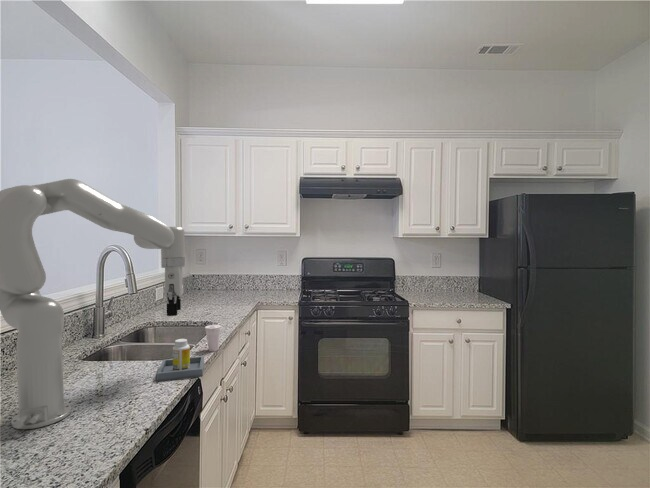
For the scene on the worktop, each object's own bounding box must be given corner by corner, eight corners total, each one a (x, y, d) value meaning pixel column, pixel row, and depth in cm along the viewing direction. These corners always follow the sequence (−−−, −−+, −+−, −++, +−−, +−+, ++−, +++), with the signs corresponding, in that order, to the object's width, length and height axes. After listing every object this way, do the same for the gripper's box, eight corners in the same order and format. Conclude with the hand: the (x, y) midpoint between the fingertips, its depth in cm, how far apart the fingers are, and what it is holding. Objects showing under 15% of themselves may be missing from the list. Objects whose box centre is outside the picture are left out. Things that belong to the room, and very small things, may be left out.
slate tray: (202, 376, 128) (202, 369, 128) (157, 381, 124) (156, 373, 124) (204, 362, 141) (204, 356, 141) (163, 366, 138) (163, 359, 138)
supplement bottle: (191, 366, 136) (191, 337, 135) (188, 372, 130) (188, 341, 130) (174, 367, 135) (174, 338, 135) (171, 373, 129) (170, 342, 129)
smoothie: (209, 353, 152) (208, 318, 152) (202, 349, 157) (201, 315, 156) (224, 350, 156) (223, 316, 156) (217, 346, 161) (216, 313, 161)
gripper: (182, 264, 124) (182, 317, 124) (187, 261, 140) (188, 307, 141) (156, 265, 122) (157, 318, 122) (165, 261, 139) (166, 308, 139)
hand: (174, 312), depth 132 cm, fingers open, 9 cm apart
